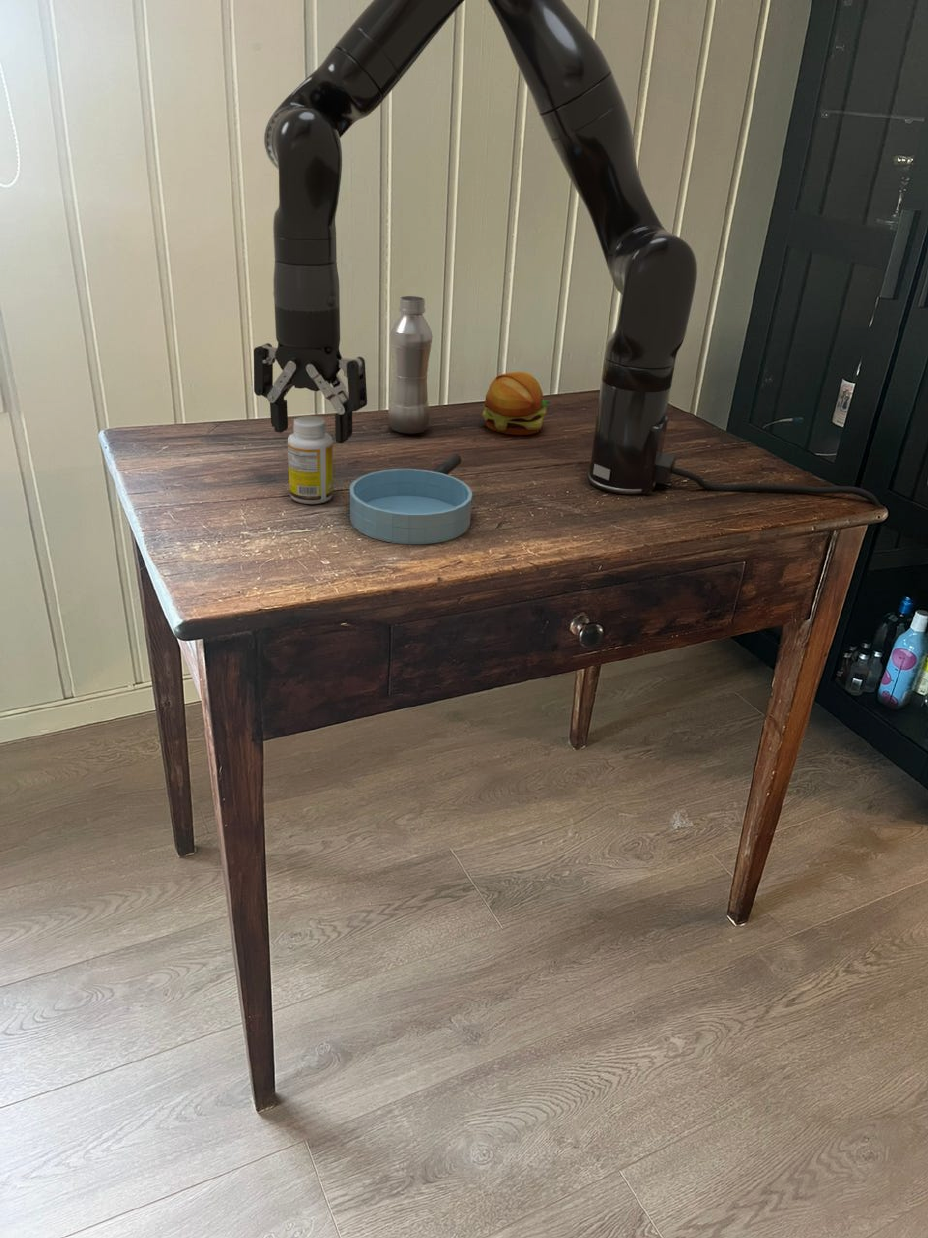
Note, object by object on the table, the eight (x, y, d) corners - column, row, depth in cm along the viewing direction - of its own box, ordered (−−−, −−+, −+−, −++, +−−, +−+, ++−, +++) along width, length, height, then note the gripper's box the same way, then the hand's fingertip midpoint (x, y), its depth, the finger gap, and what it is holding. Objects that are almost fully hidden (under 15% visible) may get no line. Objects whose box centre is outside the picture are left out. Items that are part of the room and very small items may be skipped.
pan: (486, 509, 122) (489, 482, 120) (443, 554, 110) (444, 524, 108) (381, 488, 126) (381, 461, 125) (327, 528, 114) (327, 499, 112)
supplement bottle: (320, 486, 125) (319, 411, 120) (340, 501, 122) (340, 423, 117) (281, 494, 122) (279, 416, 117) (301, 509, 119) (300, 430, 114)
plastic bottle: (396, 439, 144) (399, 303, 134) (381, 426, 149) (383, 294, 139) (435, 436, 146) (441, 302, 136) (419, 423, 151) (424, 293, 142)
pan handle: (438, 484, 123) (439, 473, 122) (427, 482, 123) (428, 471, 122) (462, 464, 130) (463, 453, 129) (451, 462, 130) (452, 451, 129)
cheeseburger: (550, 420, 156) (555, 365, 149) (538, 455, 149) (543, 399, 142) (490, 412, 158) (492, 357, 151) (475, 446, 150) (477, 390, 143)
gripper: (376, 303, 111) (376, 436, 119) (270, 289, 115) (276, 419, 123) (347, 314, 105) (349, 454, 113) (236, 299, 109) (245, 435, 117)
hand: (311, 436), depth 118 cm, fingers open, 8 cm apart
